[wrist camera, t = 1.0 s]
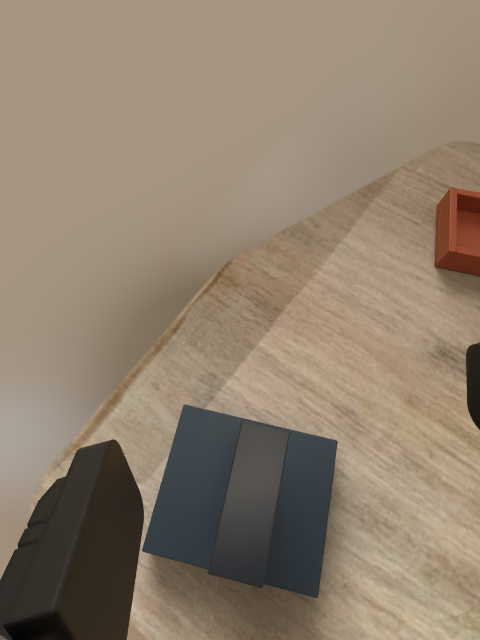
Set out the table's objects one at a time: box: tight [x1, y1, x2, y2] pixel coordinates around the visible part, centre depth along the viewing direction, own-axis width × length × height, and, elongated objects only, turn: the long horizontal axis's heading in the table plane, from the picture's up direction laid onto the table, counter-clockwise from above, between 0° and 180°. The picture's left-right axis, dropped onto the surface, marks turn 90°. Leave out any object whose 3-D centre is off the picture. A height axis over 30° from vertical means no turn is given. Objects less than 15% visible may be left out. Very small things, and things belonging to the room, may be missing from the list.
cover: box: [142, 405, 337, 598], centre depth 21 cm, size 10×9×10 cm
